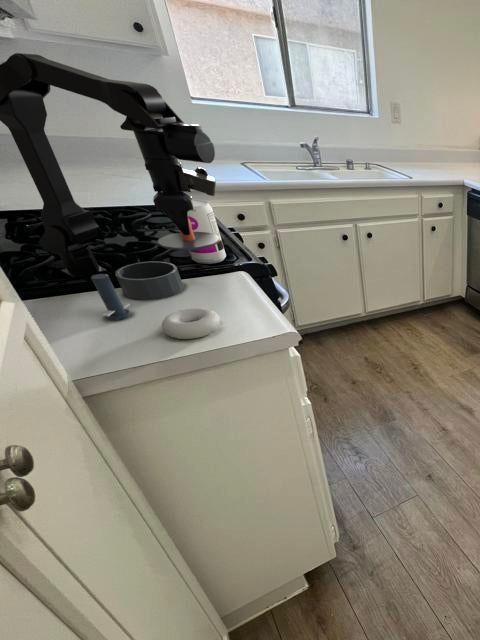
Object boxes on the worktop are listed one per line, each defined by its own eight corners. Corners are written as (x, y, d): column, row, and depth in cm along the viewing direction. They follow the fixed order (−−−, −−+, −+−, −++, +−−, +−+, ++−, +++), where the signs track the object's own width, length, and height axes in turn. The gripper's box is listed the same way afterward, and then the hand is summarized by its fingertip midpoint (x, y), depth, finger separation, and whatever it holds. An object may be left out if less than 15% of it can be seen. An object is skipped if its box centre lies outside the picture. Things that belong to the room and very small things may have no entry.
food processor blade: (119, 324, 85) (98, 283, 80) (98, 323, 85) (76, 282, 80) (139, 309, 91) (121, 270, 86) (119, 308, 90) (100, 269, 85)
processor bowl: (114, 290, 96) (104, 269, 93) (166, 276, 105) (159, 257, 102) (141, 304, 93) (132, 284, 90) (193, 289, 101) (186, 270, 98)
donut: (153, 336, 84) (196, 346, 83) (145, 321, 82) (190, 331, 81) (193, 316, 92) (233, 324, 91) (187, 301, 90) (228, 309, 89)
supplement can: (208, 266, 112) (189, 209, 103) (184, 260, 114) (164, 202, 105) (233, 258, 118) (218, 203, 109) (211, 251, 120) (193, 197, 111)
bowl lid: (148, 243, 94) (136, 215, 91) (201, 233, 103) (193, 207, 99) (178, 256, 90) (168, 228, 87) (231, 244, 99) (223, 218, 95)
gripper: (209, 166, 84) (231, 243, 93) (204, 150, 96) (224, 219, 105) (139, 166, 78) (170, 247, 88) (143, 149, 90) (170, 222, 100)
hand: (187, 232), depth 95 cm, fingers closed on bowl lid, 2 cm apart
